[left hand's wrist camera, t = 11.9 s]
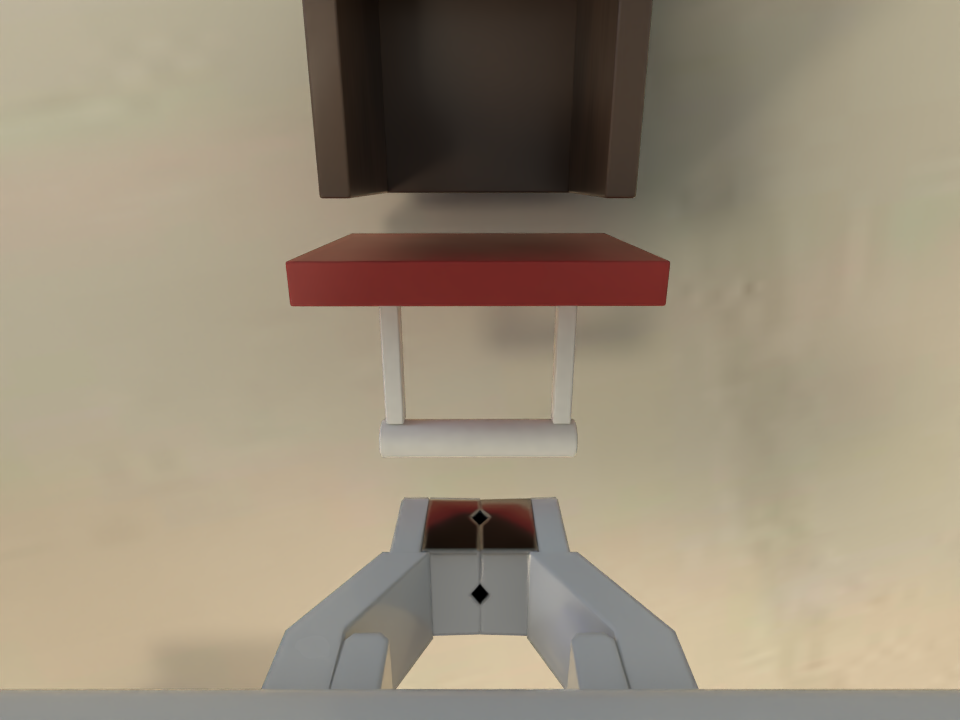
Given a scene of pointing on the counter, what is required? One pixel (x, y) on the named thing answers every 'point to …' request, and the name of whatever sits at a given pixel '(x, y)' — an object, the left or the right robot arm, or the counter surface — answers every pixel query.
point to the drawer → (477, 176)
